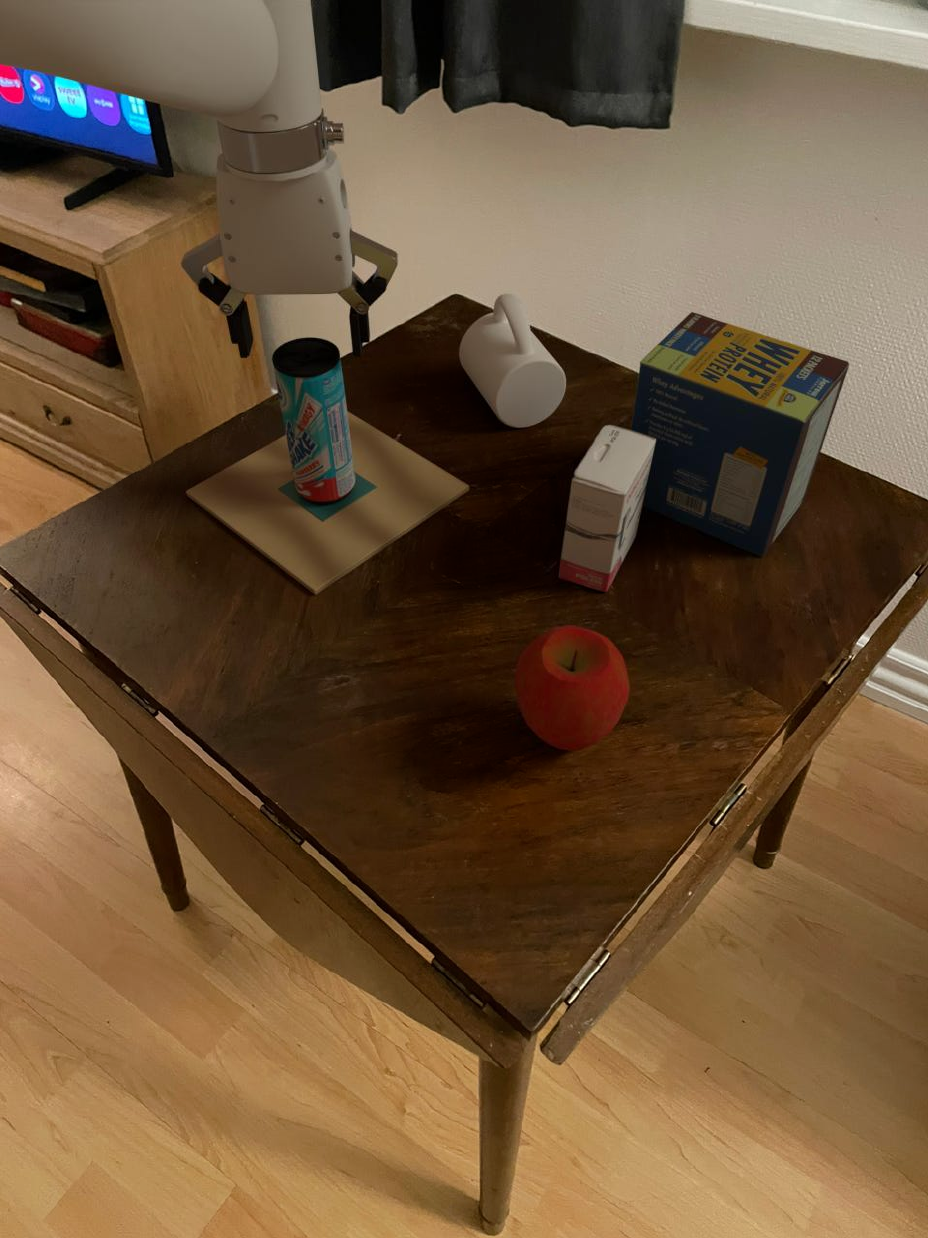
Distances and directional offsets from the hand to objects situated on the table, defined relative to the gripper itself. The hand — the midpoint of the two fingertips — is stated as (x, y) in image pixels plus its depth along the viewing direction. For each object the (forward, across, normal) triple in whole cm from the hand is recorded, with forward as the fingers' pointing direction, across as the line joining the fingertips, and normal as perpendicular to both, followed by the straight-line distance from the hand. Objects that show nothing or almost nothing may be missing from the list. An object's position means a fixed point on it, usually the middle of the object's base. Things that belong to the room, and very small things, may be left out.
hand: (302, 349), depth 81 cm
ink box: (+16, -26, +10) cm, 32 cm away
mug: (+16, -19, -16) cm, 30 cm away
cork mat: (+16, 0, 0) cm, 16 cm away
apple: (+17, -21, +30) cm, 40 cm away
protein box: (+16, -38, +2) cm, 42 cm away
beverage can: (+16, 0, 0) cm, 16 cm away
